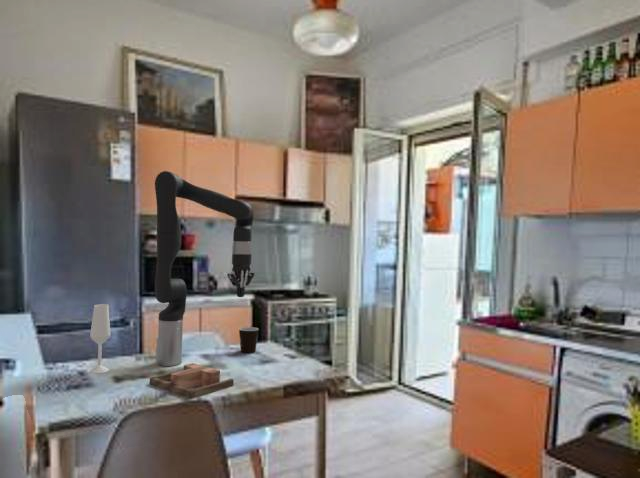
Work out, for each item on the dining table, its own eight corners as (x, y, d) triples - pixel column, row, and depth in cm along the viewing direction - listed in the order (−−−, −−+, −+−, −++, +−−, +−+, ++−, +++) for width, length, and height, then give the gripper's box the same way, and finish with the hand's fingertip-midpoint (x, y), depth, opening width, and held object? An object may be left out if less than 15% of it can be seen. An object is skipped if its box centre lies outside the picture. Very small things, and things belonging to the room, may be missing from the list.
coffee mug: (254, 354, 200) (254, 331, 200) (235, 353, 201) (236, 330, 202) (262, 348, 211) (263, 326, 211) (244, 347, 213) (245, 325, 213)
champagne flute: (100, 367, 174) (102, 303, 174) (113, 369, 171) (115, 304, 171) (84, 371, 168) (86, 305, 168) (97, 374, 165) (100, 306, 165)
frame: (149, 383, 156) (149, 377, 156) (191, 372, 170) (192, 367, 170) (191, 398, 143) (191, 392, 143) (233, 385, 157) (233, 379, 157)
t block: (161, 385, 154) (161, 370, 154) (192, 377, 165) (193, 363, 165) (188, 394, 146) (188, 379, 146) (219, 385, 157) (219, 370, 157)
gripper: (247, 252, 190) (245, 294, 190) (222, 252, 179) (221, 297, 179) (260, 253, 185) (259, 296, 185) (236, 253, 175) (234, 299, 175)
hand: (240, 296), depth 182 cm, fingers closed
